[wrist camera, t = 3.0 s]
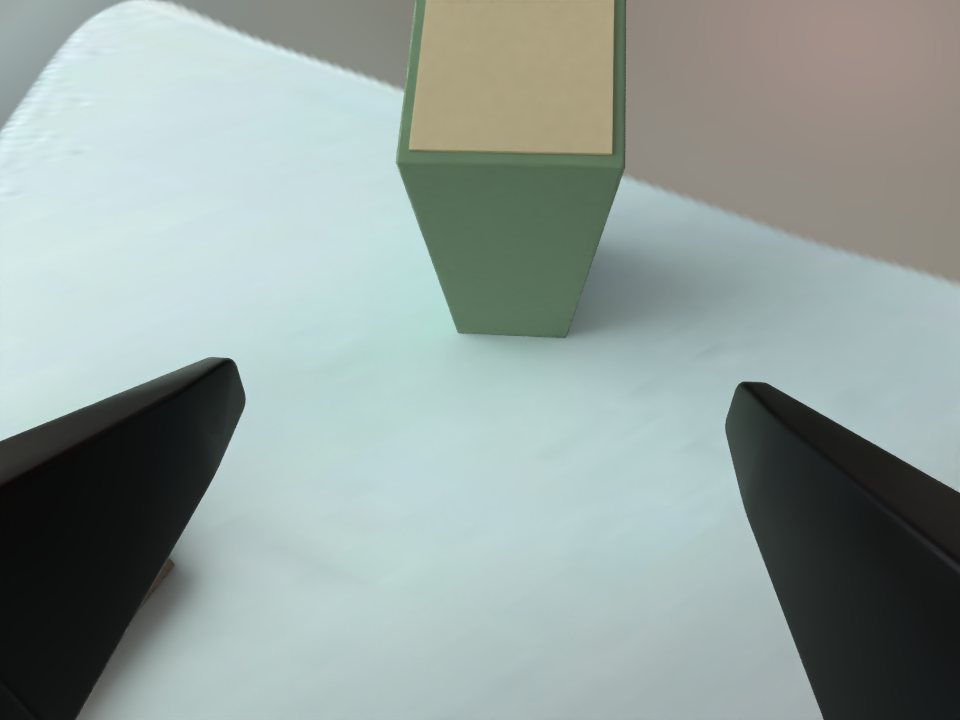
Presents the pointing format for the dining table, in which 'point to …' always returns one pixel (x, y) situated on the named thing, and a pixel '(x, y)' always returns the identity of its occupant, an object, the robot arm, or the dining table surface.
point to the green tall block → (514, 152)
